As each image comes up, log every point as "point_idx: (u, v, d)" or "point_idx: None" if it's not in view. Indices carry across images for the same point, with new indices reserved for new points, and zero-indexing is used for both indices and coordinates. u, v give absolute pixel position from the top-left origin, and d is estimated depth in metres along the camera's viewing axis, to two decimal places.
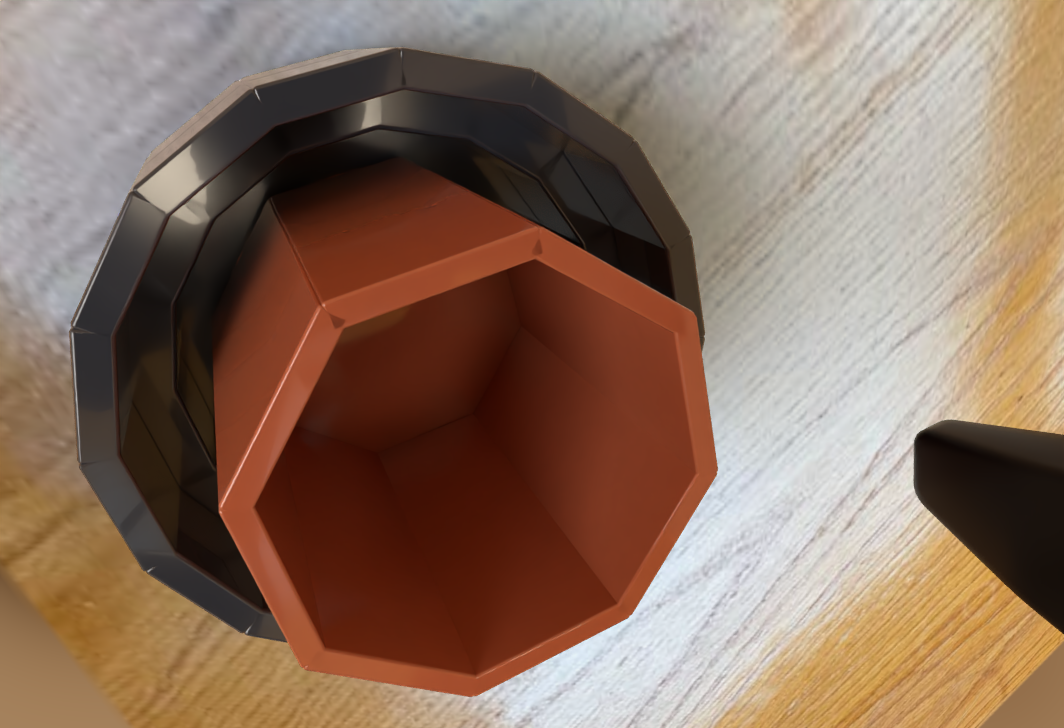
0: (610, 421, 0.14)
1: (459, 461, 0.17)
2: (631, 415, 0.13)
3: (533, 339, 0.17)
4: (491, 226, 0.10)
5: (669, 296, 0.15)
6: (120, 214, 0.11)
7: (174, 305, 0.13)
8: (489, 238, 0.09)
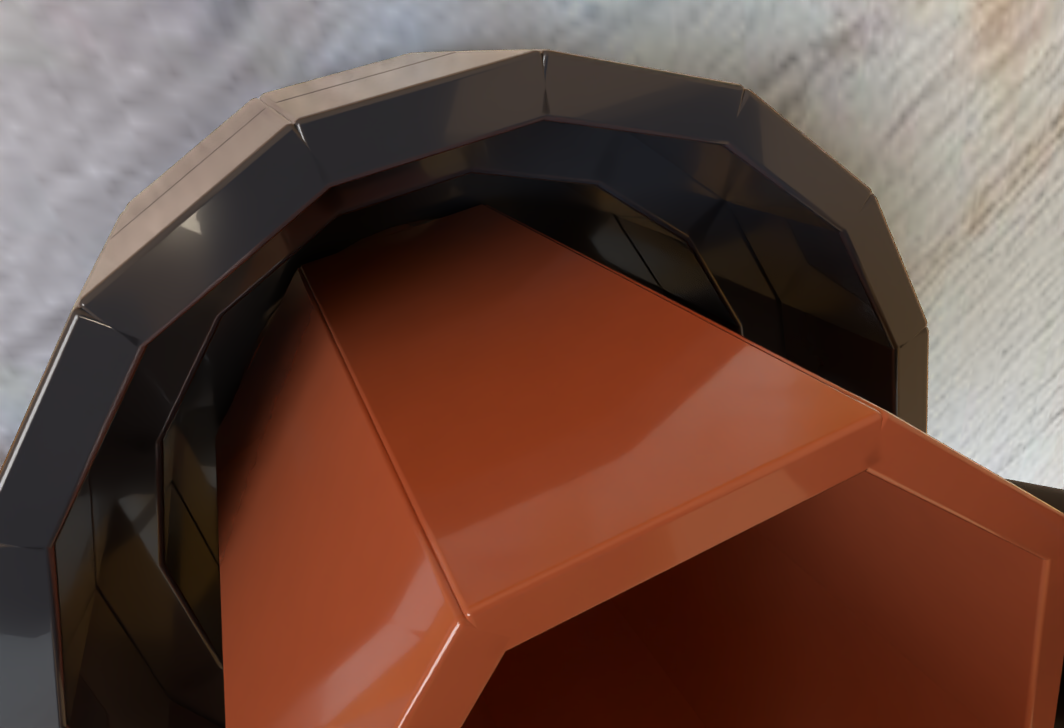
0: (815, 611, 0.09)
1: None
2: (860, 613, 0.09)
3: None
4: (761, 396, 0.05)
5: None
6: (57, 348, 0.06)
7: (160, 445, 0.09)
8: (782, 436, 0.05)
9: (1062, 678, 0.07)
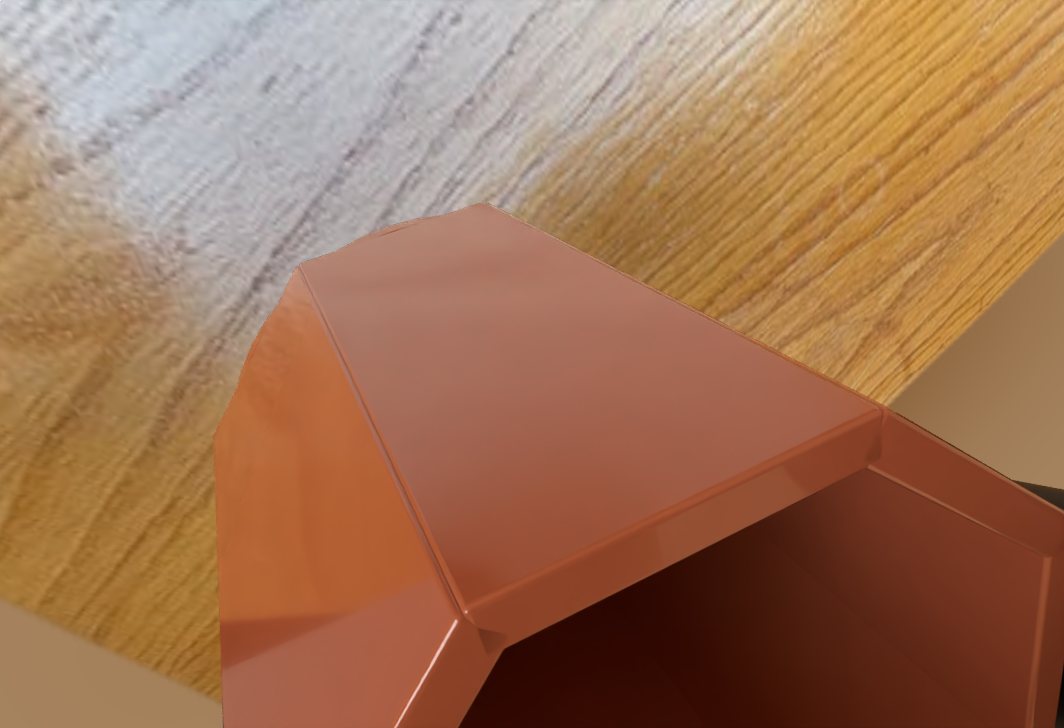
0: (815, 611, 0.09)
1: (557, 621, 0.12)
2: (860, 612, 0.09)
3: None
4: (761, 393, 0.05)
5: None
6: None
7: None
8: (782, 433, 0.05)
9: (1062, 678, 0.07)
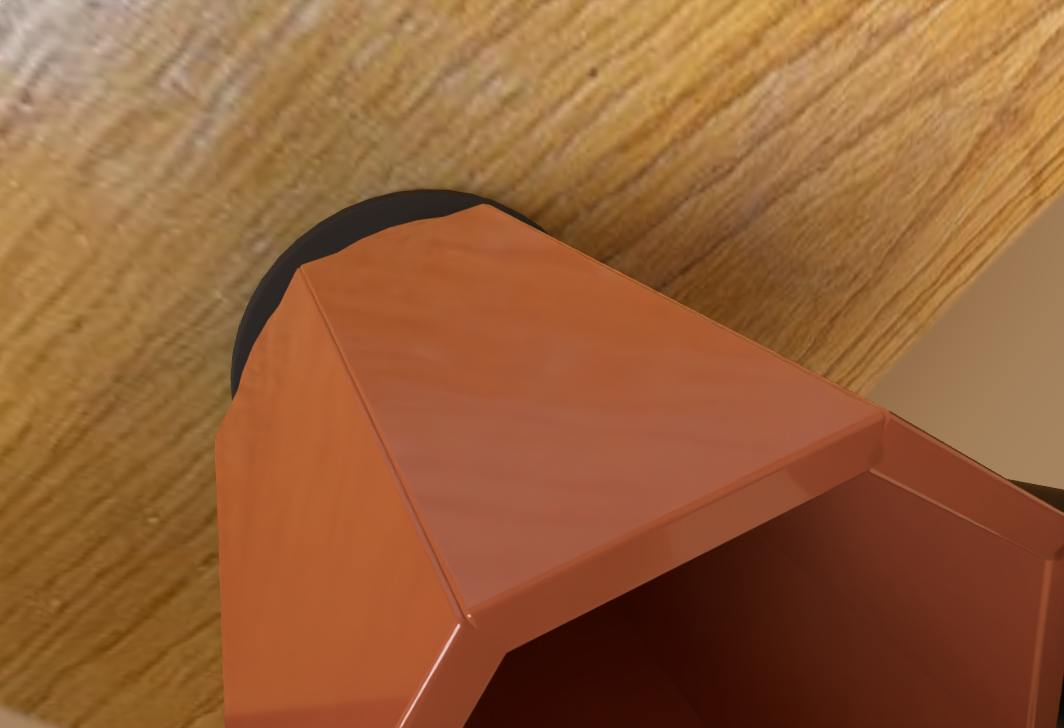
0: (816, 613, 0.09)
1: None
2: (860, 614, 0.09)
3: None
4: (763, 396, 0.05)
5: None
6: None
7: None
8: (784, 437, 0.05)
9: None
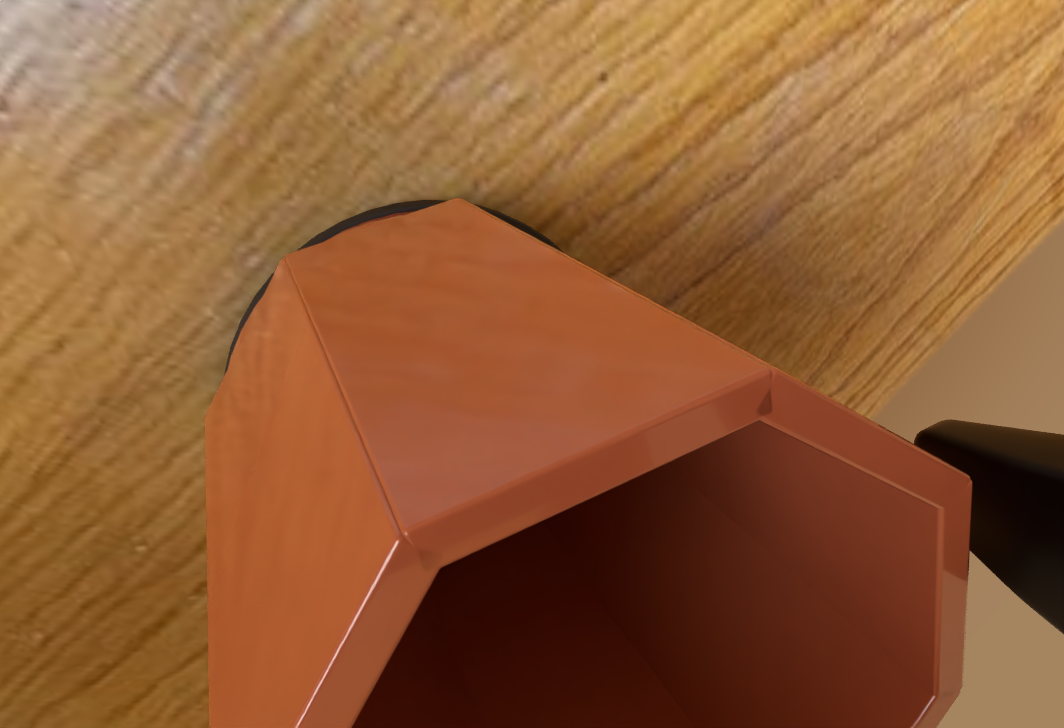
0: (761, 575, 0.10)
1: (530, 593, 0.13)
2: (800, 574, 0.10)
3: None
4: (673, 358, 0.06)
5: None
6: None
7: None
8: (684, 389, 0.05)
9: None
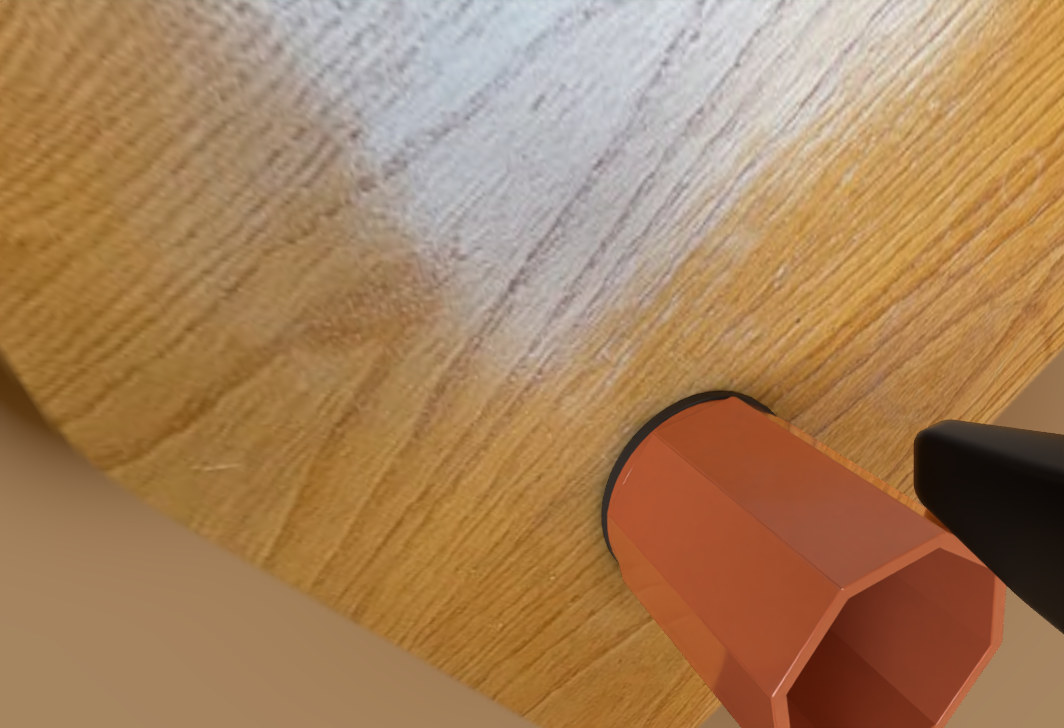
0: (902, 592, 0.21)
1: None
2: (923, 592, 0.20)
3: None
4: (906, 524, 0.17)
5: None
6: None
7: None
8: (916, 538, 0.16)
9: None
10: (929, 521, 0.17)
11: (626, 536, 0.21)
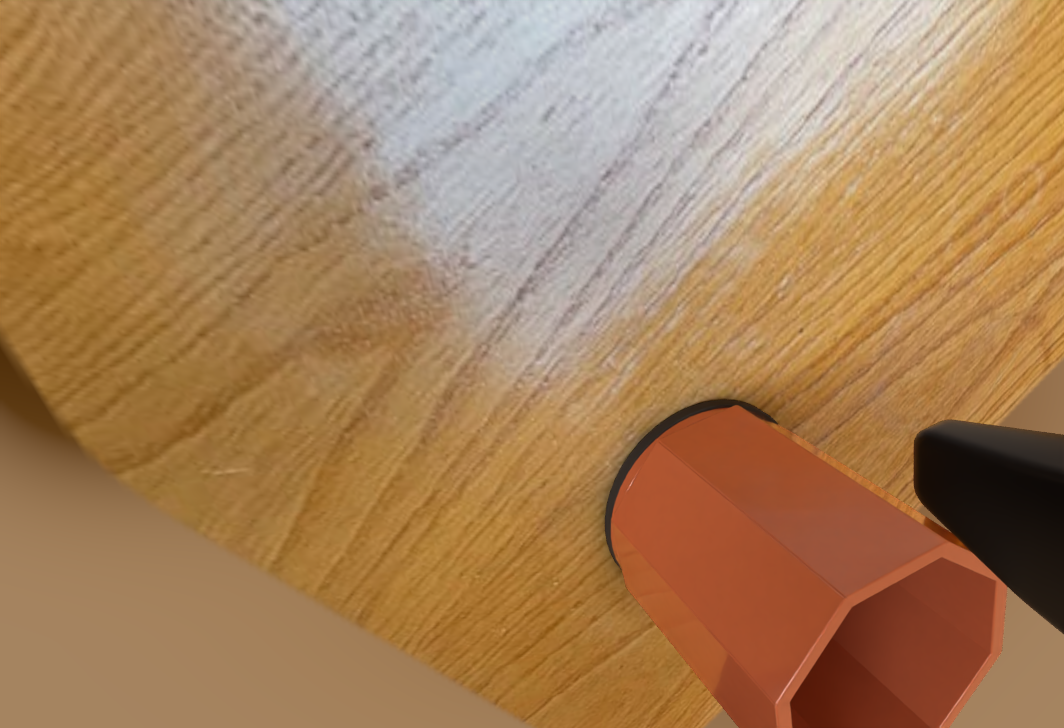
0: (902, 600, 0.21)
1: None
2: (923, 601, 0.21)
3: None
4: (909, 533, 0.17)
5: None
6: None
7: None
8: (918, 548, 0.16)
9: None
10: (931, 531, 0.17)
11: (630, 543, 0.22)
